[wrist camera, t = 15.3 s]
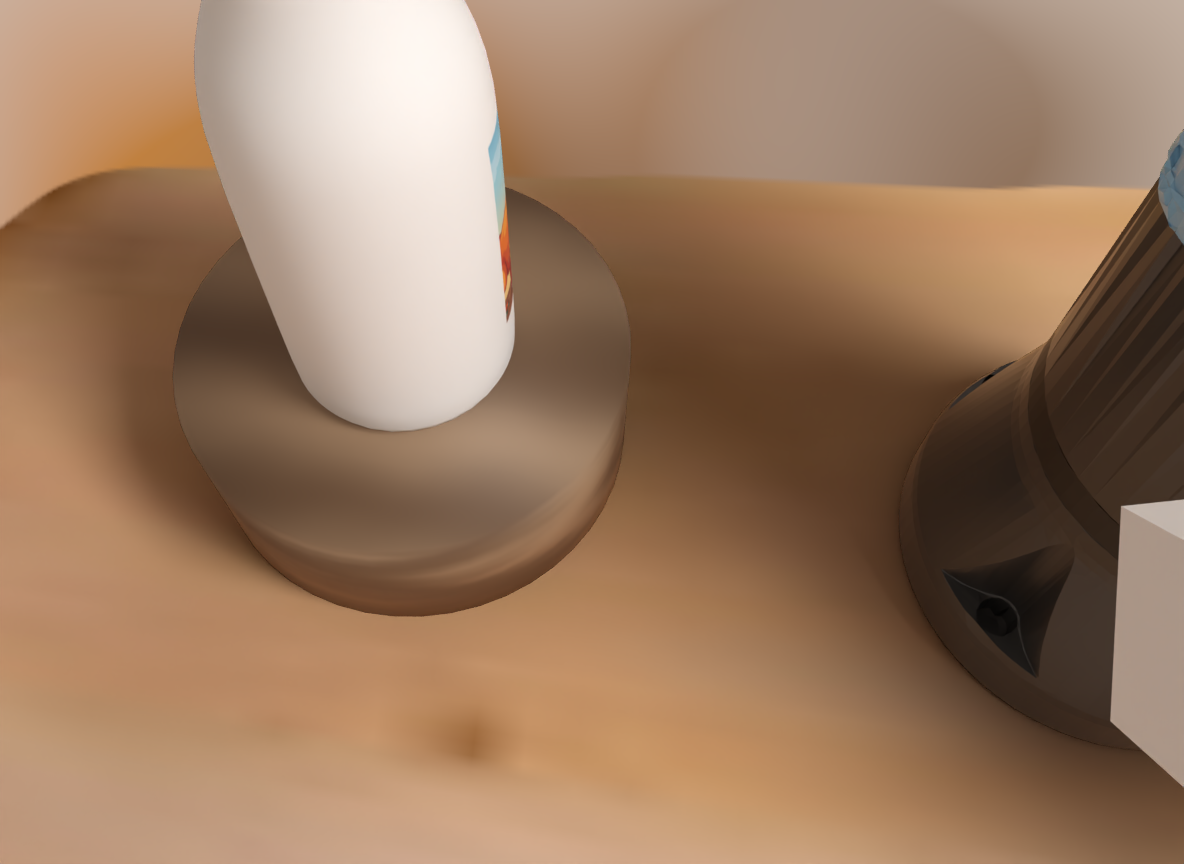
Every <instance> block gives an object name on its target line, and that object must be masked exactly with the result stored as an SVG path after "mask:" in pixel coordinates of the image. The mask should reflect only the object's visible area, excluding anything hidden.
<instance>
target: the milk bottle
mask: <svg viewBox="0 0 1184 864" xmlns="http://www.w3.org/2000/svg"><path fill="white" fill-rule="evenodd" d="M194 70H195V71H194V72H195V84H196V94H197V100H198V106H199V110H200V115H201V120H202V124H203V128H204V133H205V135H206V139H207V142H208V145H209V148H210V150H211V154H212V156H213V159H214V162H215V165H216V168H217V171H218V174H219V177H220V180H221V183H222V186H223V189H224V191H225V194H226V197H227V199H228V202H229V204H230V207H231V209H232V212H233V214H234V217H235V220H236V222H237V225H238V227H239V230H240V232H241V235H242V237H243V240H244V243H245V245H246V248H247V250H248V253H249V255H250V258H251V260H252V263H253V265H254V268H255V270H256V273H257V275H258V278H259V280H260V283H261V285H262V288H263V290H264V293H265V295H266V298H267V300H268V303H269V305H270V307H271V310H272V312H273V315H274V317H275V320H276V322H277V325H278V327H279V330H280V332H281V334H282V337H283V339H284V342H285V344H286V347H287V349H288V351H289V354H290V356H291V359H292V361H293V363H294V365H295V367H296V369H297V371H298V373H299V375H300V378H301V380H302V382H303V383H304V385H305V386H306V388H307V390H308V391H309V392H310V393H311V395H312V396H313V397H314V398H315V399H316V400H317V401H318V402H319V403H320V404H321V405H322V406H324V407H325V408H326V409H328V410H329V411H331V412H332V413H334V414H335V415H337V416H339V417H341V418H343V419H345V420H347V421H349V422H351V423H354V424H357V425H361V426H363V427H366V428H369V429H375V430H383V431H389V432H400V431H417V430H421V429H425V428H431V427H435V426H438V425H440V424H443V423H445V422H448V421H451V420H453V419H455V418H457V417H459V416H460V415H462V414H463V413H465V412H467V411H468V410H470V409H472V408H473V407H474V406H475V405H476V404H477V403H478V402H480V401H481V400H482V399H483V398H484V397H485V396H487V395H488V393H489V392H490V391H491V390H492V388H493V387H494V386H495V385H496V384H497V382H498V381H499V379H500V378H501V376H502V375H503V373H504V371H505V369H506V368H507V365H508V363H509V360H510V358H511V354H512V351H513V346H514V337H515V317H514V300H513V286H512V272H511V259H510V245H509V232H508V218H507V206H506V195H505V183H504V172H503V160H502V149H501V137H500V128H499V120H498V112H497V105H496V97H495V89H494V83H493V79H492V74H491V70H490V66H489V62H488V58H487V53H486V49H485V47H484V44H483V41H482V38H481V36H480V33H479V30H478V27H477V25H476V22H475V20H474V18H473V16H472V14H471V12H470V10H469V8H468V6H467V4H466V2H465V0H201V6H200V11H199V16H198V23H197V30H196V39H195V54H194Z"/></svg>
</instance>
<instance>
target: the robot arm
mask: <svg viewBox="0 0 1184 864" xmlns="http://www.w3.org/2000/svg"><path fill="white" fill-rule="evenodd" d="M899 532H900V542H901V549H902V555H903V559H904V564H905V567H906V571H907V574H908V577H909V580H910V583H911V586H912V588H913V591H914V593H915V596H916V598H917V600H918V602H919V604H920V606H921V608H922V610H923V612H924V614H925V615H926V617H927V619H928V621H929V622H930V624H931V625H932V627H933V629H934V630H935V632H936V633H937V635H938V636H939V637H940V639H941V640H942V641H943V643H944V644H945V645H946V647H947V648H948V649H949V651H950V652H951V653H952V654H953V655H954V656H955V658H956V659H957V660H958V661H959V662H960V663H961V664H962V665H963V666H964V667H965V668H966V669H967V670H968V671H969V672H970V673H971V674H972V675H973V676H974V677H975V678H976V679H977V680H978V681H979V682H980V683H981V684H983V685H984V686H985V687H986V688H987V689H989V690H990V691H991V692H992V693H994V694H995V695H996V696H998V697H999V698H1000V699H1002V700H1003V701H1005V702H1006V703H1007V704H1009V705H1010V706H1012V707H1013V708H1015V709H1017V710H1018V711H1020V712H1021V713H1023V714H1025V715H1026V716H1028V717H1030V718H1032V719H1034V720H1036V721H1038V722H1039V723H1041V724H1044V725H1046V726H1048V727H1050V728H1052V729H1055V730H1057V731H1059V732H1062V733H1064V734H1067V735H1070V736H1072V737H1075V738H1079V739H1082V740H1085V741H1088V742H1092V743H1096V744H1100V745H1105V746H1110V747H1116V748H1122V749H1133V750H1143V751H1144V752H1145V753H1146V754H1147V755H1148V756H1150V757H1151V758H1152V759H1153V760H1154V761H1155V762H1156V763H1157V764H1158V765H1159V766H1161V767H1162V768H1163V769H1164V770H1165V771H1166V772H1167V773H1168V774H1169V775H1171V776H1172V777H1173V778H1174V779H1175V780H1176V781H1177V782H1178V783H1179V784H1181V785H1182V786H1183V787H1184V129H1183V130H1182V132H1181V133H1180V134H1179V136H1178V137H1177V139H1176V140H1175V141H1174V143H1173V144H1172V146H1171V148H1170V149H1169V151H1168V159H1167V161H1166V163H1165V164H1164V166H1163V168H1162V170H1161V173H1160V177H1159V179H1158V180H1157V181H1156V183H1155V184H1154V186H1153V187H1152V189H1151V190H1150V192H1149V193H1148V195H1147V196H1146V198H1145V199H1144V201H1143V202H1142V204H1141V205H1140V206H1139V208H1138V209H1137V211H1136V212H1135V214H1134V215H1133V217H1132V218H1131V220H1130V221H1129V223H1128V224H1127V226H1126V227H1125V229H1124V230H1123V232H1122V233H1121V235H1120V236H1119V237H1118V239H1117V240H1116V242H1115V243H1114V245H1113V246H1112V248H1111V249H1110V251H1109V252H1108V254H1107V255H1106V257H1105V258H1104V260H1103V261H1102V263H1101V264H1100V266H1099V267H1098V268H1097V270H1096V271H1095V273H1094V274H1093V276H1092V277H1091V279H1090V280H1089V282H1088V283H1087V285H1086V286H1085V288H1084V289H1083V291H1082V292H1081V294H1080V295H1079V297H1078V298H1077V299H1076V301H1075V302H1074V304H1073V305H1072V307H1071V308H1070V310H1069V311H1068V313H1067V314H1066V316H1065V317H1064V319H1063V320H1062V322H1061V323H1060V325H1059V326H1058V327H1057V329H1056V330H1055V332H1054V333H1053V335H1052V336H1051V338H1050V339H1049V340H1048V341H1047V342H1046V343H1044V344H1043V345H1041V346H1039V347H1038V348H1036V349H1035V350H1033V351H1031V352H1030V353H1028V354H1027V355H1025V356H1023V357H1022V358H1020V359H1019V360H1017V361H1014V362H1011V363H1009V364H1006V365H1004V366H1002V367H1000V368H998V369H996V370H994V371H992V372H991V373H989V374H987V375H985V376H983V377H982V378H980V379H978V380H977V381H975V382H974V383H972V384H971V385H970V386H968V387H967V388H966V389H965V390H963V391H962V392H961V393H960V394H959V395H958V396H957V397H956V398H955V399H954V400H953V401H952V402H951V403H950V404H949V405H948V406H947V407H946V408H945V409H944V410H943V412H942V413H941V414H940V416H939V417H938V418H937V420H936V421H935V423H934V424H933V426H932V427H931V429H930V431H929V432H928V434H927V436H926V437H925V439H924V441H923V442H922V444H921V446H920V447H919V449H918V451H917V452H916V454H915V456H914V458H913V460H912V462H911V464H910V467H909V470H908V472H907V475H906V478H905V482H904V485H903V489H902V495H901V500H900V509H899Z"/></svg>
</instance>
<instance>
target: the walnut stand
mask: <svg viewBox="0 0 1184 864" xmlns="http://www.w3.org/2000/svg"><path fill="white" fill-rule="evenodd" d="M505 195H506V206H507V218H508V232H509V245H510V259H511V272H512V286H513V300H514V317H515V337H514V346H513V351H512V354H511V358H510V360H509V363H508V365H507V368H506V369H505V371H504V373H503V375H502V376H501V378H500V379H499V381H498V382H497V384H496V385H495V386H494V387H493V388H492V390H491V391H490V392H489V393H488V395H487V396H485V397H484V398H483V399H482V400H481V401H480V402H478V403H477V404H476V405H475V406H474V407H473V408H472V409H470V410H468V411H467V412H465V413H463V414H462V415H460V416H459V417H457V418H455V419H453V420H451V421H448V422H445V423H443V424H440V425H438V426H435V427H431V428H425V429H421V430H417V431H400V432H389V431H383V430H375V429H369V428H366V427H363V426H361V425H357V424H354V423H351V422H349V421H347V420H345V419H343V418H341V417H339V416H337V415H335V414H334V413H332V412H331V411H329V410H328V409H326V408H325V407H324V406H322V405H321V404H320V403H319V402H318V401H317V400H316V399H315V398H314V397H313V396H312V395H311V393H310V392H309V391H308V390H307V388H306V386H305V385H304V383H303V382H302V380H301V378H300V375H299V373H298V371H297V369H296V367H295V365H294V363H293V361H292V359H291V356H290V354H289V351H288V349H287V347H286V344H285V342H284V339H283V337H282V334H281V332H280V330H279V327H278V325H277V322H276V320H275V317H274V315H273V312H272V310H271V307H270V305H269V303H268V300H267V298H266V295H265V293H264V290H263V288H262V285H261V283H260V280H259V278H258V275H257V273H256V270H255V268H254V265H253V263H252V260H251V258H250V255H249V253H248V250H247V248H246V245H245V243H244V240H243V237H241V238H240V239H239V240H238V241H237V242H236V243H235V244H234V245H233V246H232V247H231V248H230V249H229V250H228V251H227V252H226V253H225V254H224V255H223V256H222V257H221V258H220V259H219V260H218V261H217V263H216V264H215V265H214V267H213V268H212V269H211V271H210V272H209V273H208V275H207V276H206V277H205V279H204V280H203V281H202V283H201V285H200V287H199V288H198V290H197V292H196V294H195V295H194V297H193V299H192V301H191V303H190V305H189V307H188V310H187V312H186V315H185V317H184V320H183V322H182V325H181V327H180V331H179V336H178V340H177V344H176V348H175V354H174V368H173V385H174V397H175V404H176V408H177V412H178V416H179V420H180V423H181V427H182V429H183V432H184V434H185V436H186V438H187V441H188V443H189V445H190V447H191V450H192V451H193V453H194V455H195V456H196V458H197V459H198V461H199V462H200V464H201V465H202V467H203V469H204V470H205V472H206V473H207V475H208V476H209V478H210V479H211V481H212V483H213V484H214V486H215V487H216V489H217V490H218V492H219V493H220V495H221V497H222V498H223V500H224V501H225V503H226V504H227V506H228V507H229V509H230V511H231V512H232V514H233V515H234V517H235V518H236V520H237V521H238V523H239V525H240V526H241V528H242V529H243V531H244V532H245V534H246V535H247V537H248V538H249V540H250V541H251V543H252V544H253V546H254V547H255V548H256V549H257V550H258V551H259V553H260V554H261V555H262V556H263V557H264V558H265V559H266V560H267V561H268V562H269V564H270V565H271V566H273V567H274V568H275V569H276V570H278V571H279V572H280V573H281V574H283V575H284V576H285V577H286V578H287V579H289V580H290V581H291V582H293V583H295V584H296V585H298V586H300V587H301V588H303V589H305V590H306V591H308V592H310V593H311V594H313V595H315V596H318V597H320V598H323V599H325V600H327V601H330V602H332V603H334V604H337V605H340V606H343V607H347V608H351V609H355V610H358V611H362V612H366V613H373V614H381V615H388V616H430V615H438V614H447V613H453V612H457V611H461V610H465V609H469V608H474V607H478V606H481V605H483V604H486V603H489V602H491V601H494V600H497V599H499V598H502V597H505V596H507V595H509V594H511V593H513V592H514V591H516V590H518V589H520V588H522V587H524V586H526V585H528V584H530V583H531V582H533V581H534V580H536V579H537V578H539V577H540V576H541V575H543V574H544V573H546V572H547V571H549V570H550V569H551V568H553V567H554V566H555V565H556V564H557V563H559V562H560V561H561V560H562V559H563V558H564V557H565V556H566V555H567V554H568V553H570V552H571V551H572V550H573V549H574V548H575V546H576V545H577V544H578V543H579V542H580V541H581V539H582V538H583V537H584V536H585V535H586V533H587V532H588V531H589V530H590V529H591V527H592V526H593V524H594V522H595V521H596V519H597V518H598V516H599V515H600V513H601V511H602V510H603V508H604V506H605V504H606V502H607V500H608V497H609V495H610V493H611V491H612V489H613V486H614V483H615V480H616V476H617V473H618V470H619V466H620V462H621V455H622V447H623V440H624V429H625V418H626V407H627V396H628V385H629V373H630V362H631V333H630V327H629V321H628V316H627V310H626V307H625V304H624V301H623V298H622V295H621V292H620V289H619V286H618V285H617V283H616V281H615V279H614V277H613V275H612V273H611V271H610V269H609V267H608V266H607V264H606V263H605V261H604V260H603V259H602V257H601V256H600V255H599V253H598V252H597V250H596V249H595V248H594V246H593V245H592V244H591V243H590V242H589V241H588V240H587V239H586V238H585V237H584V236H583V235H582V234H581V233H580V232H579V231H578V230H577V229H576V228H575V227H574V226H573V225H571V224H570V223H569V222H567V221H566V220H565V219H564V218H562V217H561V216H560V215H559V214H557V213H556V212H554V211H553V210H551V209H549V208H548V207H546V206H544V205H543V204H541V203H539V202H538V201H536V200H534V199H532V198H530V197H527V196H525V195H523V194H521V193H519V192H517V191H514V190H512V189H509V188H506V187H505Z"/></svg>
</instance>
